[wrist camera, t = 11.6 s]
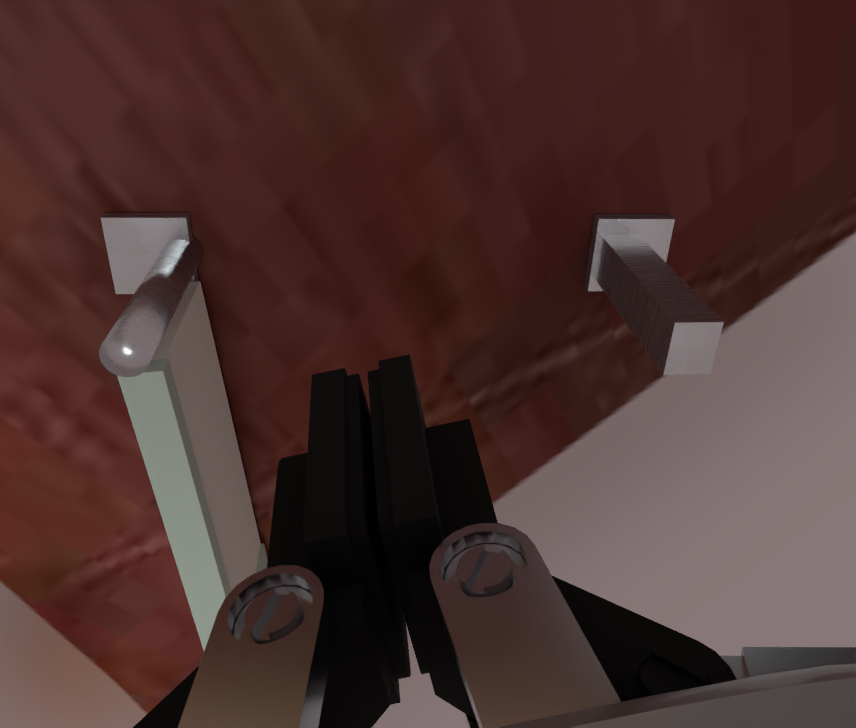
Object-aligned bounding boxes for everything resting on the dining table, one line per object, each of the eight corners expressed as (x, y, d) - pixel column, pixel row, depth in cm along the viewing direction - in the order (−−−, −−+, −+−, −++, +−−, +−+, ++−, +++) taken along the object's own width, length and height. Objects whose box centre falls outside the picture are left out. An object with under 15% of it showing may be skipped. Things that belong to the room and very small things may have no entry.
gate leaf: (168, 283, 37) (116, 374, 29) (204, 280, 37) (162, 370, 29) (239, 564, 46) (216, 689, 39) (268, 561, 46) (250, 685, 39)
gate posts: (120, 287, 38) (39, 403, 28) (105, 212, 36) (13, 309, 26) (655, 284, 40) (747, 390, 31) (669, 214, 38) (772, 303, 29)
